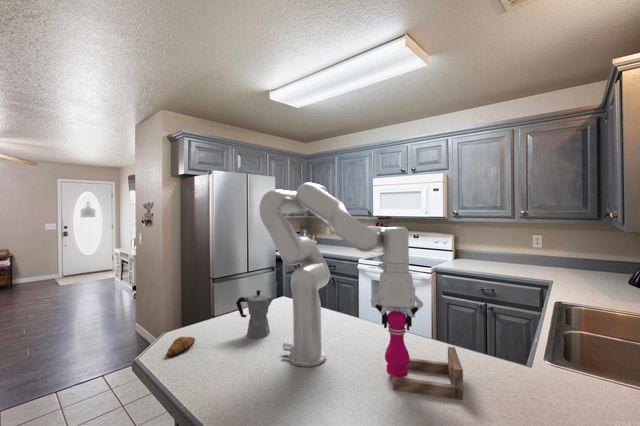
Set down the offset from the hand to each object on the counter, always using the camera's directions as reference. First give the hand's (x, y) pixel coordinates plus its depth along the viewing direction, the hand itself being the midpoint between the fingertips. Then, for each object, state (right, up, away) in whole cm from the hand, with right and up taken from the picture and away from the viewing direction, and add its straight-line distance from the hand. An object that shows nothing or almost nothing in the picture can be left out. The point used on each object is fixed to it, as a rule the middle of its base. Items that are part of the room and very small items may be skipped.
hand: (396, 327), depth 91 cm
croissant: (-74, -16, +20) cm, 78 cm away
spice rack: (+8, -15, -2) cm, 17 cm away
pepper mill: (0, -14, 0) cm, 14 cm away
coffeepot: (-50, -16, +33) cm, 62 cm away
